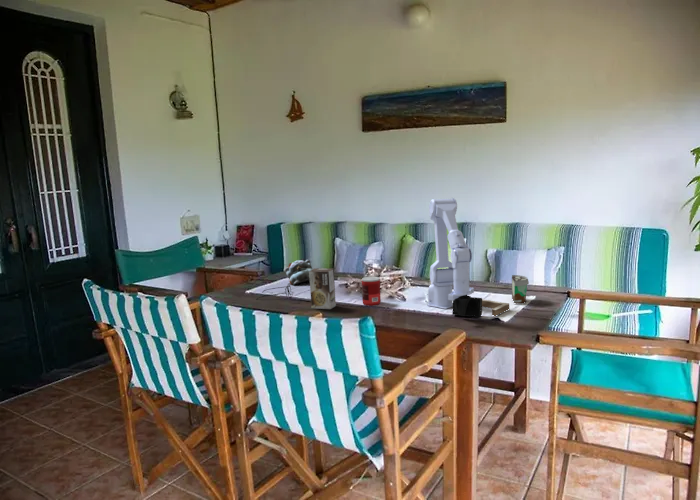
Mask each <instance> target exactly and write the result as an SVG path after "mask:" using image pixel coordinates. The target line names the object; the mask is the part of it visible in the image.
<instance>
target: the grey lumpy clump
mask: <svg viewBox="0 0 700 500" xmlns="http://www.w3.org/2000/svg"><path fill="white" fill-rule="evenodd" d="M313 269H314V268H313V266H312V264H311V261H310V260H309V259H304V258H301V259H300V260H299V259H297V260H295V261H293V262H289V264H288V266H287V267H286V268H284V272H285V274H286V276H287V278H288V280H289V281H288V282H289V283H290V286H294V285H296V284H301V283H305V282H310V278H309V271H311V270H313Z"/></svg>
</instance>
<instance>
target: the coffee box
mask: <svg viewBox="0 0 700 500" xmlns="http://www.w3.org/2000/svg"><path fill="white" fill-rule="evenodd" d="M312 269H313V270H311V271H309V278H310V281H309V289H310V290H309V291H310V304H311V305H310V306H311V307H310V308H311V309H315V310H317V309H318V310H319V309H320V310H321V309H322V310H332V309H333V308H335V307H336V306H337V303H336V302H337V301H336V288H335V287H336V286H335V285H336V284H335V283H336V282H335V268H320V267H319V268H312Z"/></svg>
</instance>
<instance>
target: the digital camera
mask: <svg viewBox="0 0 700 500" xmlns="http://www.w3.org/2000/svg"><path fill="white" fill-rule="evenodd" d="M482 299H483V298H482V297H475V296H473V297H471V299H470V301H469V303H468V305H467V309H466V313H465V315H464V317H465V316H466V317H477V318H478V317H479V318H480V317H482V316H481V315H482V313H483V307H482ZM452 303H453V307H452V315H453V316H459V315H458V311H457V308H456V305H455V303H454V301H452Z"/></svg>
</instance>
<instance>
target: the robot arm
mask: <svg viewBox="0 0 700 500" xmlns="http://www.w3.org/2000/svg"><path fill="white" fill-rule="evenodd" d="M457 210H458V202H457V200H456V199H455V197H451V198H432V199H431V200H430V201H429V204H428V211H429V219H430V220H431V221H433V225H434V238H435V239H434V241H435V242H434V243H435V254H436V256H435V258H436V260H435V261H434V262H433V264H431V265H430V267H429V280H430V283H431V284H430V285H429V286H428V289H427V295H428V297H427V299H428V301H427V303H428V304H427V306H428V307H433V308H437V309H445V310H448V309H450V308H453V301H454V303H455V305H456V308H457V311H458V315H457V316H460V317H461V316H462V317H463V316H464V315H465V313H466V309H467V305H468V303H469V301H470V299H471V295H472V294H474V293H475V288H474V287H471V286H470V263H471V262H472V260H473V252H472V249H471V247H470V246H469V245H468V244H467V243H466V241H465V238H464V234H463V232H462V231H461V230H459V228H458V227H459V226H458V223H457V219H456V214H457ZM448 245H449V247H450V250H451V251H450V259H451V261H450V259H449V247H448ZM464 317H465V316H464Z"/></svg>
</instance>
